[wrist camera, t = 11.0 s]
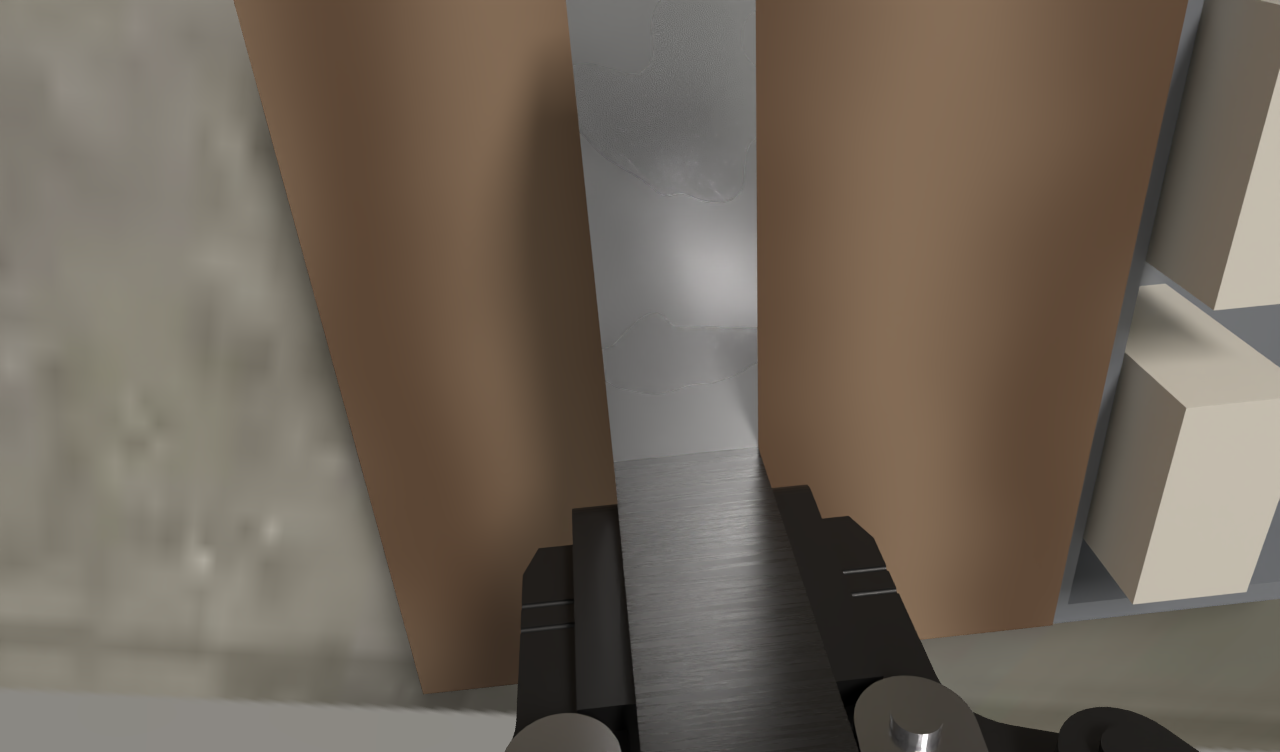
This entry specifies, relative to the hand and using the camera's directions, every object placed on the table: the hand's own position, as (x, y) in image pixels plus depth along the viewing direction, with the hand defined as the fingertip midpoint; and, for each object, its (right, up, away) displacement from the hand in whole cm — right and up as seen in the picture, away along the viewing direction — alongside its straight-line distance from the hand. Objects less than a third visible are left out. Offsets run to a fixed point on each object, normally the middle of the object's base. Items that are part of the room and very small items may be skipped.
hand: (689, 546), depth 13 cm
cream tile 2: (+9, +1, +7) cm, 12 cm away
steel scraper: (0, +2, +3) cm, 3 cm away
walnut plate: (+1, +5, +8) cm, 9 cm away
